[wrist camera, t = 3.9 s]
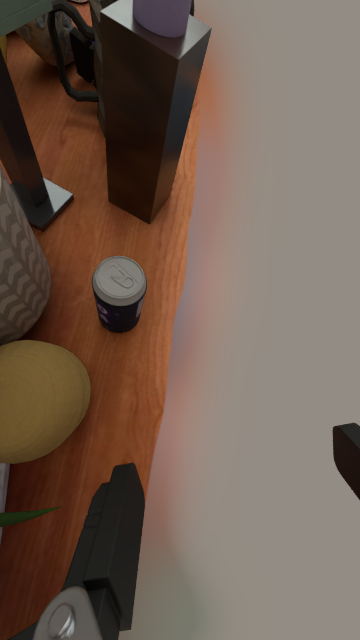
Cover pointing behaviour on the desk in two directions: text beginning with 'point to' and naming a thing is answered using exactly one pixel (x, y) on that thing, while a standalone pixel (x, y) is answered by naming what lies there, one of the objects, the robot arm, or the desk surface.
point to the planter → (19, 269)
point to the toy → (89, 52)
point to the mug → (97, 3)
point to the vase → (3, 46)
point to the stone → (48, 37)
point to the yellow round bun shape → (39, 398)
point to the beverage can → (119, 292)
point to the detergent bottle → (163, 16)
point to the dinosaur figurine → (4, 519)
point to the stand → (146, 105)
